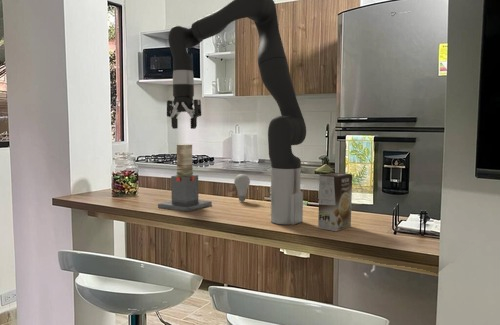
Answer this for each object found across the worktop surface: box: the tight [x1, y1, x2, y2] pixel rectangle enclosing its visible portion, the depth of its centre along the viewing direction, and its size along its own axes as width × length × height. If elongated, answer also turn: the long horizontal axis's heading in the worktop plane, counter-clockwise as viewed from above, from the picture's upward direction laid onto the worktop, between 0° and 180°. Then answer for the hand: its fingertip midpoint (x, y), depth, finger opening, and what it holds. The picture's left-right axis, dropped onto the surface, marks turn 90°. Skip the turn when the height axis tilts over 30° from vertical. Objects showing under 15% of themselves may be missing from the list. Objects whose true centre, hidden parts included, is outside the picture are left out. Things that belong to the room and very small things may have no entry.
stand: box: [157, 174, 213, 213], centre depth 167 cm, size 14×14×12 cm
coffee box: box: [317, 172, 353, 232], centre depth 134 cm, size 9×6×16 cm
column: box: [176, 143, 194, 177], centre depth 166 cm, size 4×4×16 cm
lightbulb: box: [233, 173, 251, 203], centre depth 176 cm, size 6×6×11 cm
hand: (183, 128), depth 165 cm, fingers open, 8 cm apart
